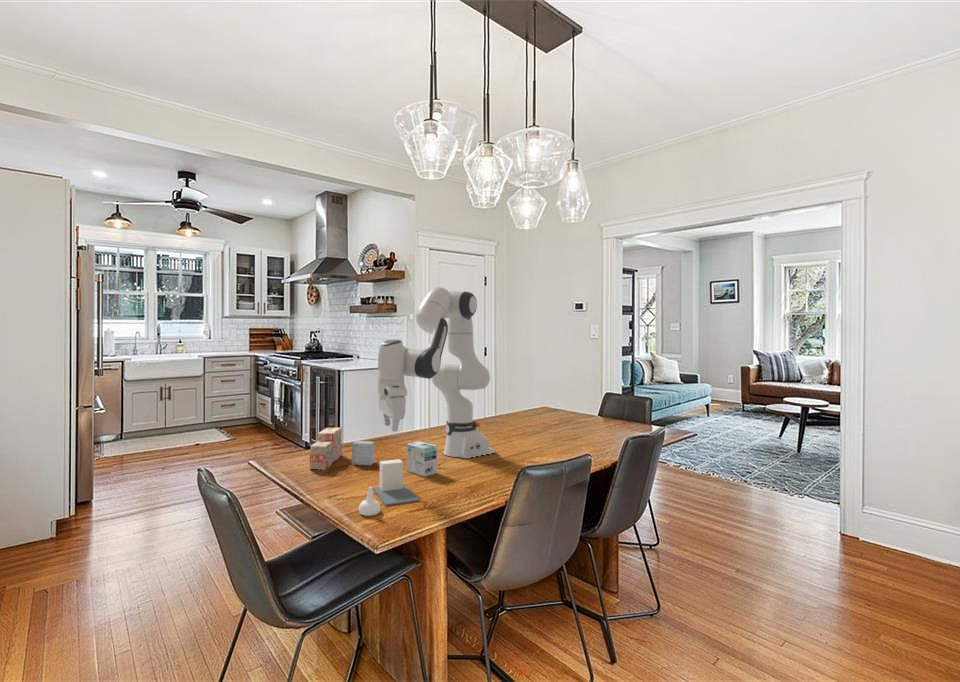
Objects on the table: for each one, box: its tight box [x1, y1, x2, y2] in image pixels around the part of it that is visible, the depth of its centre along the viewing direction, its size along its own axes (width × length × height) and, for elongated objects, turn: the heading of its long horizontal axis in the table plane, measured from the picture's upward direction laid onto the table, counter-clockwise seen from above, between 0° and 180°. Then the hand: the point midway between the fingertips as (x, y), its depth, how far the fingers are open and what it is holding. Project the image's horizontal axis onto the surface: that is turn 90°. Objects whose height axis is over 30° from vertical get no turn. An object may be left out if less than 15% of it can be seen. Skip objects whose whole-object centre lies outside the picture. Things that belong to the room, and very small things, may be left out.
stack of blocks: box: [309, 427, 343, 471], centre depth 198 cm, size 21×6×12 cm, turn 0°
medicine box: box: [351, 440, 375, 466], centre depth 197 cm, size 8×4×9 cm, turn 84°
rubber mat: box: [372, 483, 421, 507], centre depth 161 cm, size 11×17×1 cm, turn 25°
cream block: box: [378, 458, 404, 491], centre depth 166 cm, size 7×4×9 cm, turn 115°
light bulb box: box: [406, 440, 438, 477], centre depth 187 cm, size 11×7×11 cm, turn 47°
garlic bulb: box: [358, 486, 381, 517], centre depth 146 cm, size 6×6×8 cm
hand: (390, 428), depth 167 cm, fingers open, 8 cm apart
